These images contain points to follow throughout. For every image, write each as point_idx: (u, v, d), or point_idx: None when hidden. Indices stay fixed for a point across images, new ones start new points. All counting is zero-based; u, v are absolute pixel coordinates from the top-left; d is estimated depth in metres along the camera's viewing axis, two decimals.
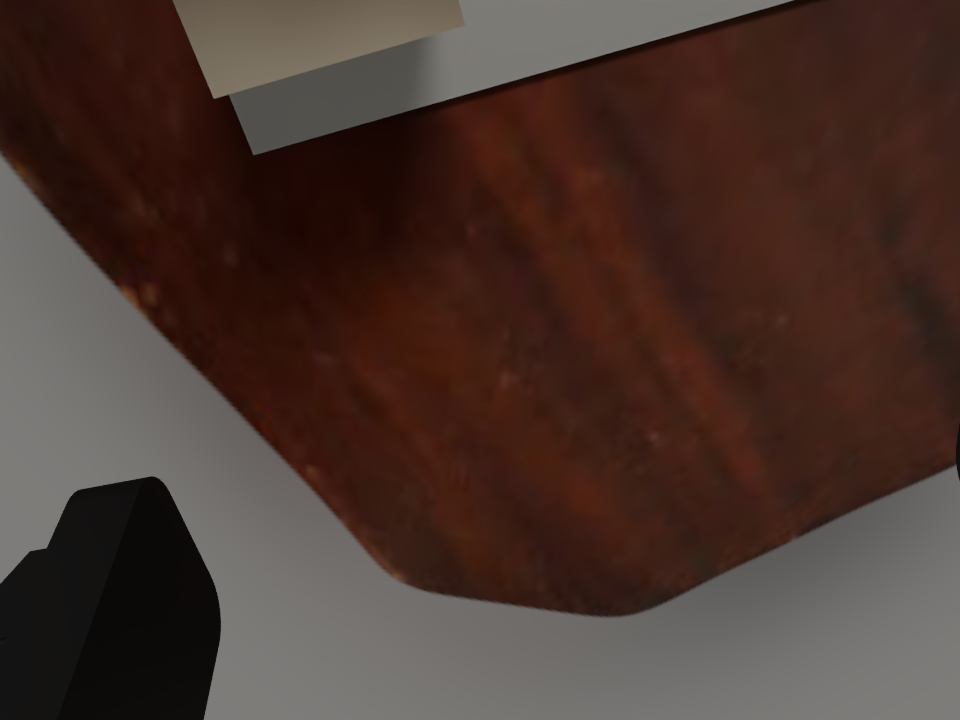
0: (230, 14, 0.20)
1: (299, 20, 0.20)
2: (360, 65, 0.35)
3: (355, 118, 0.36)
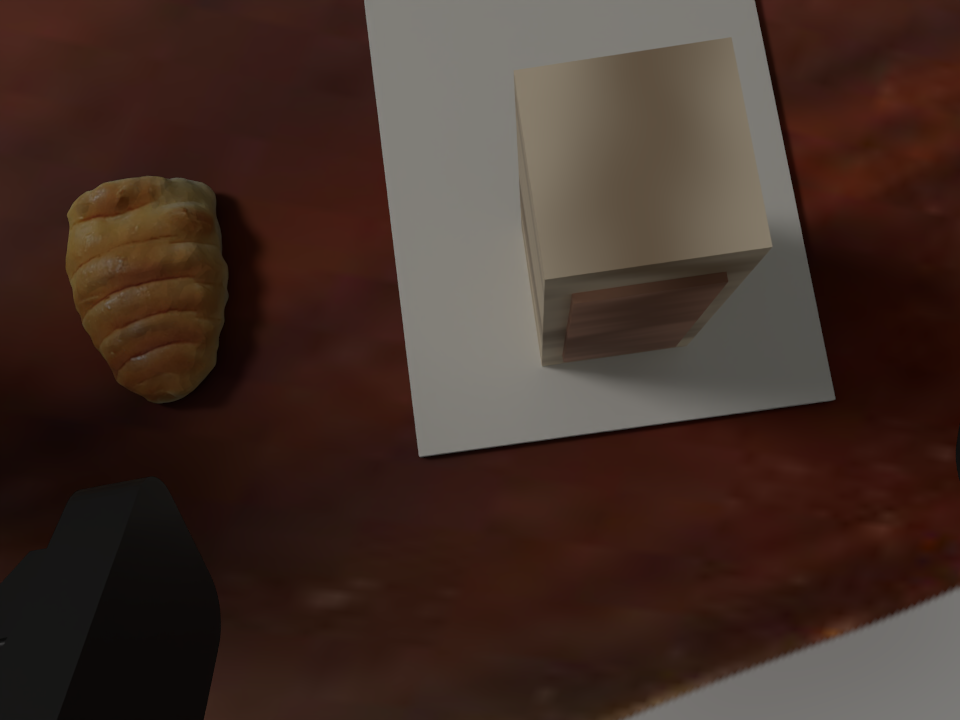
0: (703, 216, 0.24)
1: (713, 164, 0.25)
2: (758, 285, 0.38)
3: (807, 297, 0.38)
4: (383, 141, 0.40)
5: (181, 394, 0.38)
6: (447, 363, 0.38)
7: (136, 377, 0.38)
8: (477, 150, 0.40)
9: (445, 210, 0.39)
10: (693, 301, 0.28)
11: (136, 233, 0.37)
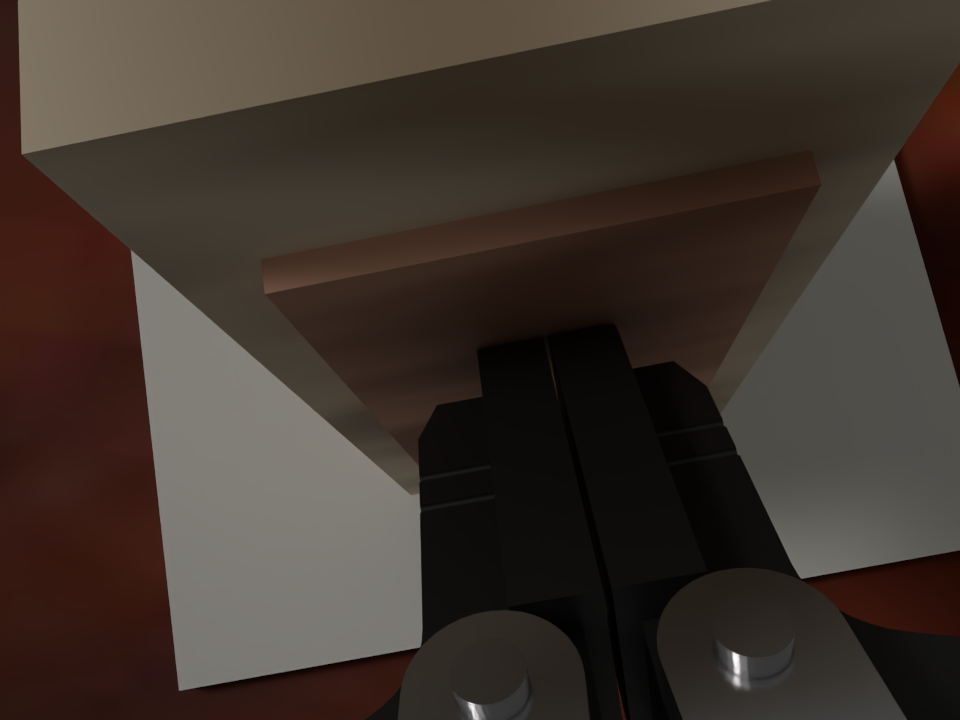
0: None
1: None
2: (832, 318, 0.19)
3: (931, 338, 0.19)
4: None
5: None
6: (234, 499, 0.20)
7: None
8: None
9: None
10: (701, 293, 0.09)
11: None
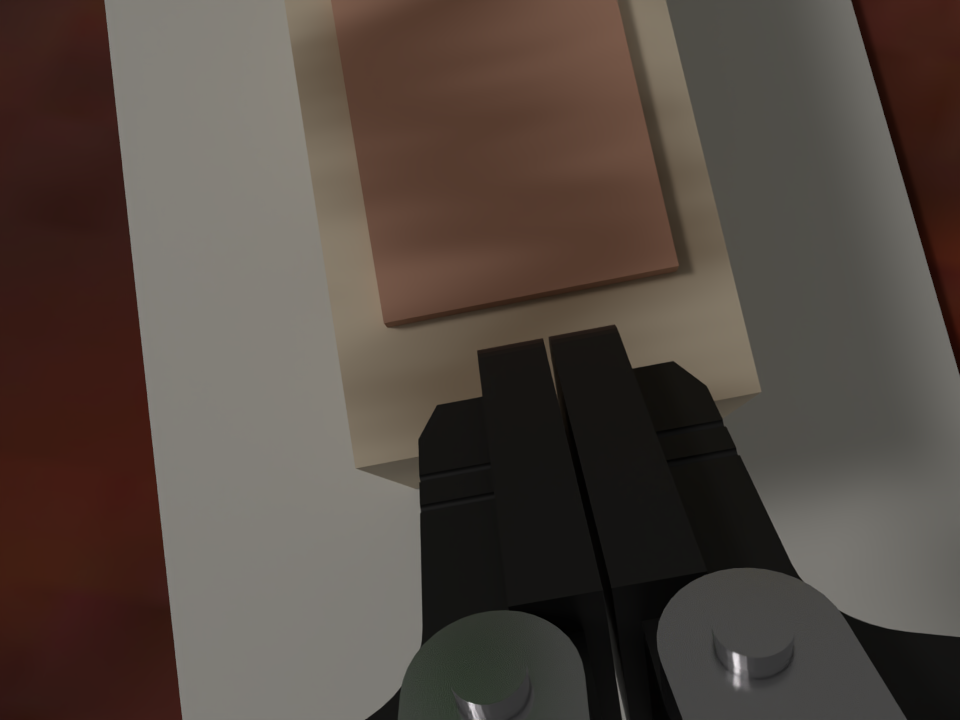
0: None
1: None
2: (909, 599, 0.18)
3: None
4: (143, 321, 0.21)
5: None
6: None
7: None
8: (324, 332, 0.20)
9: (264, 457, 0.20)
10: None
11: None
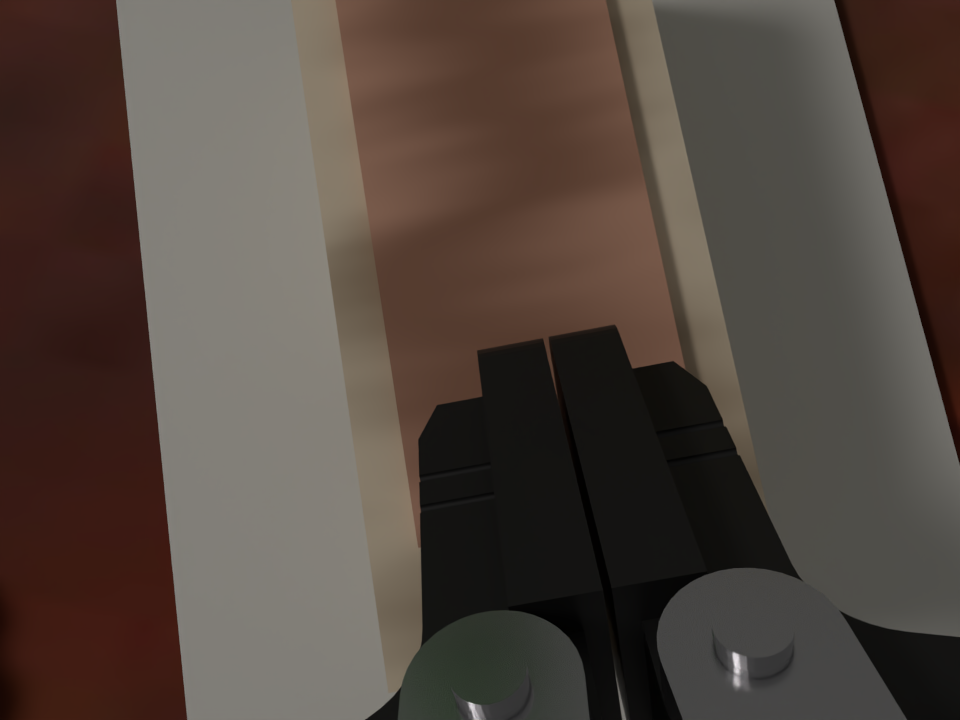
0: None
1: None
2: None
3: None
4: (166, 465, 0.21)
5: None
6: None
7: None
8: (347, 482, 0.20)
9: (286, 609, 0.20)
10: (568, 17, 0.15)
11: None
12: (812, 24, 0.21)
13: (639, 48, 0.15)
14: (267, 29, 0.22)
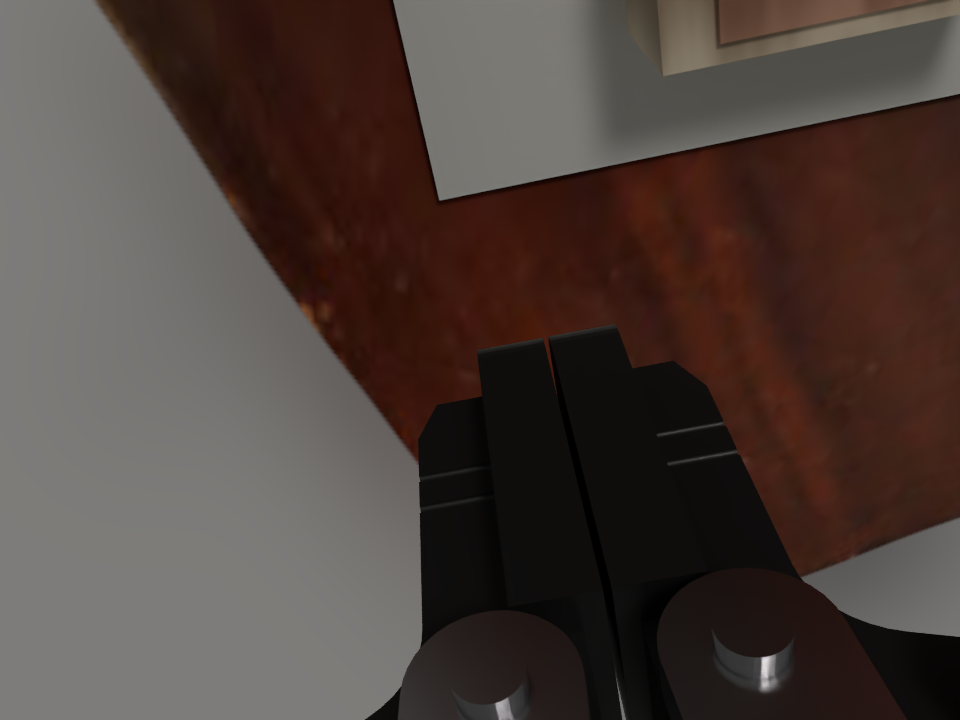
0: None
1: None
2: (545, 131, 0.39)
3: (533, 175, 0.41)
4: None
5: None
6: None
7: None
8: None
9: None
10: None
11: None
12: (922, 87, 0.40)
13: (930, 9, 0.32)
14: None
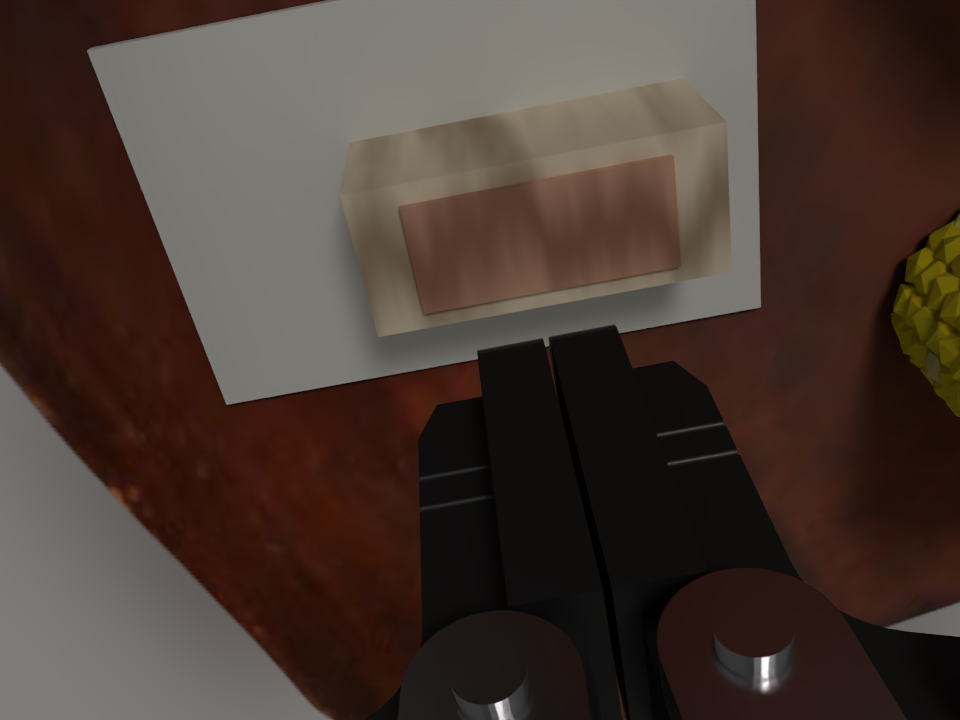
0: None
1: None
2: (317, 348, 0.43)
3: (311, 384, 0.44)
4: None
5: None
6: (193, 74, 0.36)
7: None
8: (430, 91, 0.37)
9: (360, 61, 0.37)
10: (627, 261, 0.35)
11: None
12: (662, 313, 0.43)
13: (612, 285, 0.36)
14: (704, 27, 0.37)
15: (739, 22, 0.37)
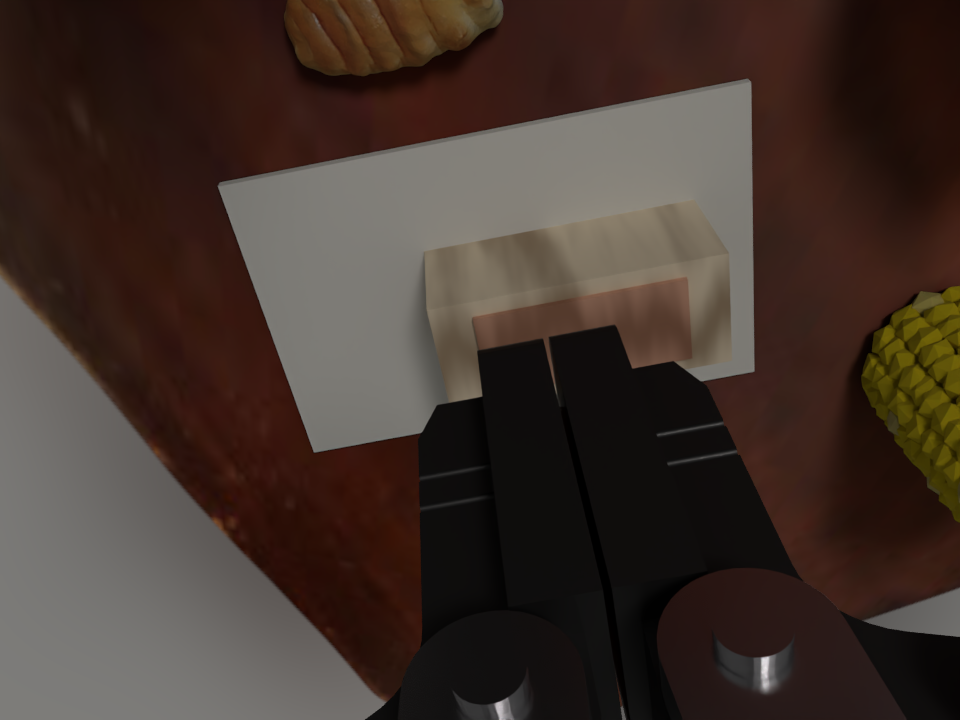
0: None
1: None
2: (390, 408, 0.53)
3: (384, 435, 0.54)
4: (498, 133, 0.44)
5: (298, 57, 0.41)
6: (301, 203, 0.45)
7: (299, 18, 0.39)
8: (490, 212, 0.46)
9: (435, 191, 0.46)
10: (650, 355, 0.44)
11: (429, 1, 0.38)
12: None
13: None
14: (710, 162, 0.46)
15: (738, 158, 0.46)
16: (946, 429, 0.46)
